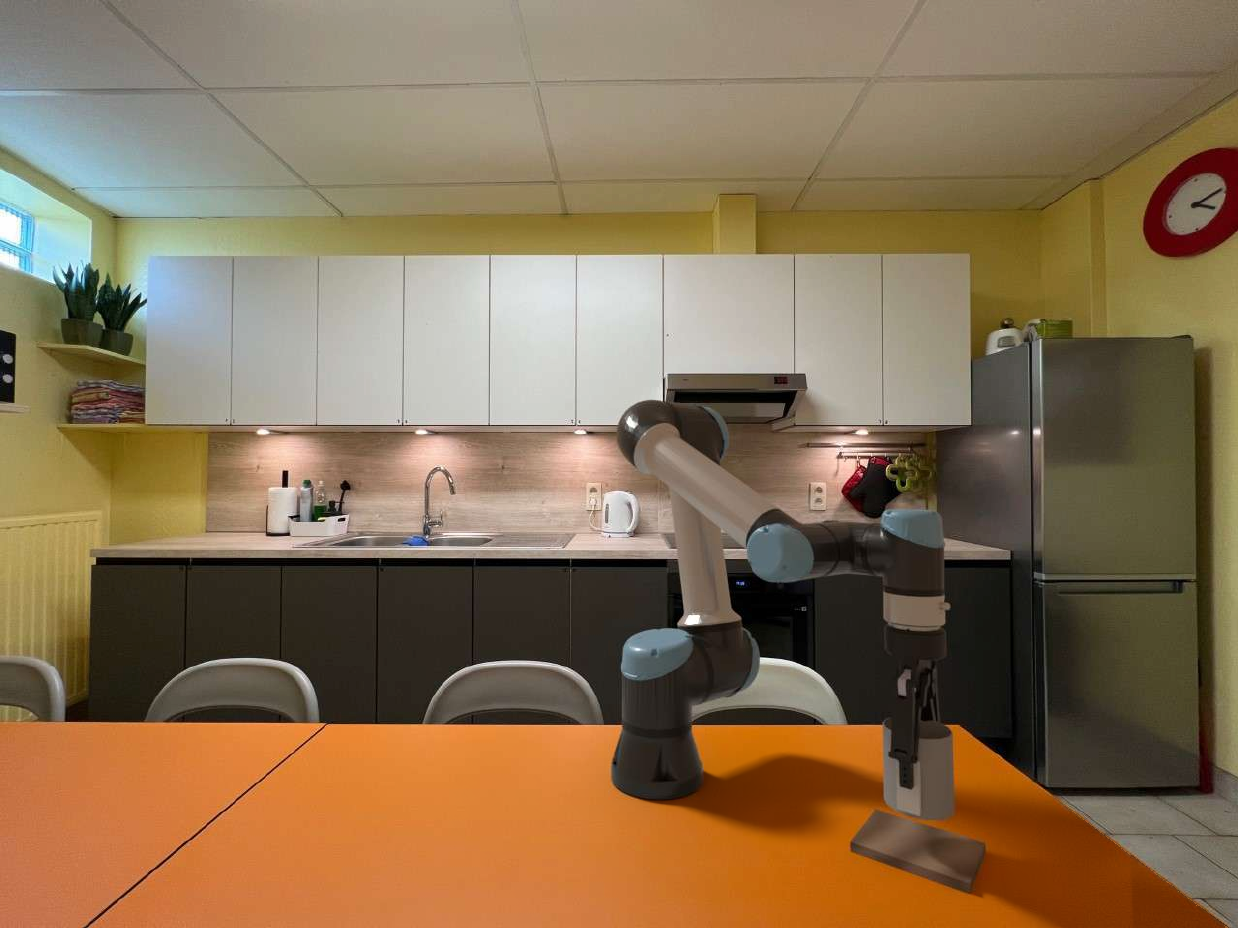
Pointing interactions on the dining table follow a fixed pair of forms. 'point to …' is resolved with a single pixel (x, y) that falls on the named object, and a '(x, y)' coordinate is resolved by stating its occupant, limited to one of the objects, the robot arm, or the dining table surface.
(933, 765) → the cup
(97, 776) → the dining table surface
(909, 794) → the robot arm
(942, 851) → the walnut board
